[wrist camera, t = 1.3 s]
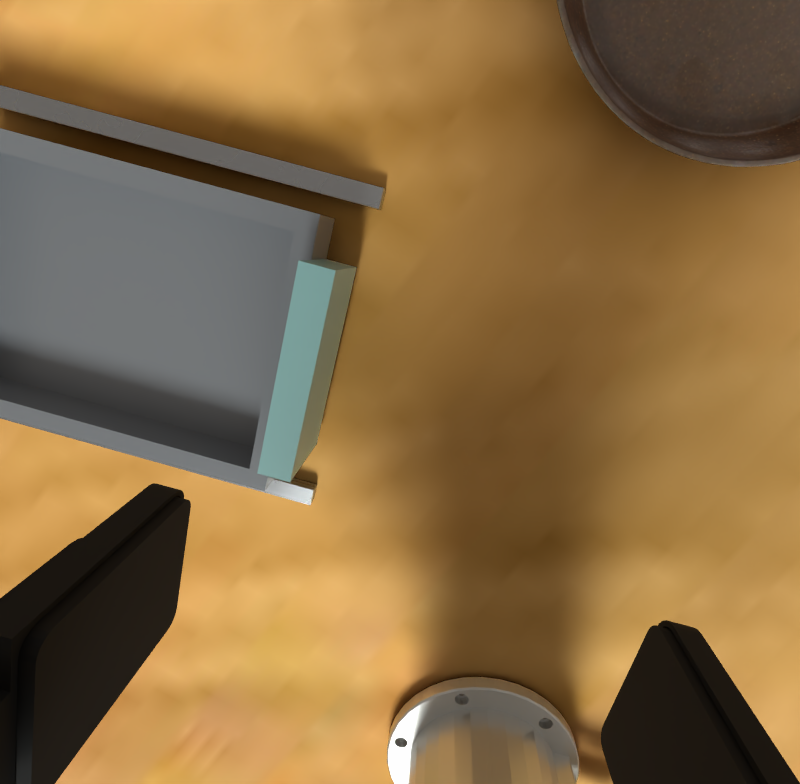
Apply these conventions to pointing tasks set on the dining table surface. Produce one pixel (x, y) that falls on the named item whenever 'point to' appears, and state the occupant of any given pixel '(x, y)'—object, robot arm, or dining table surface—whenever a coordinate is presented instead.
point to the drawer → (164, 313)
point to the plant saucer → (696, 73)
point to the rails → (209, 155)
